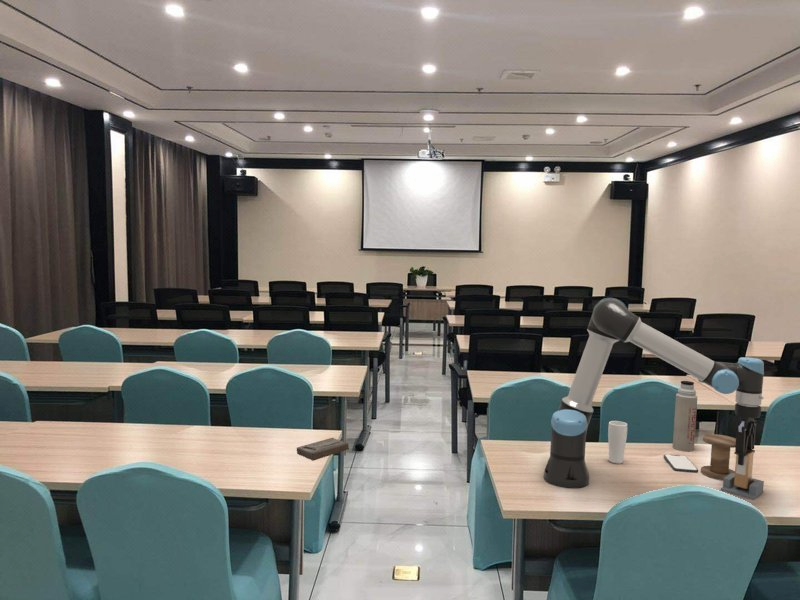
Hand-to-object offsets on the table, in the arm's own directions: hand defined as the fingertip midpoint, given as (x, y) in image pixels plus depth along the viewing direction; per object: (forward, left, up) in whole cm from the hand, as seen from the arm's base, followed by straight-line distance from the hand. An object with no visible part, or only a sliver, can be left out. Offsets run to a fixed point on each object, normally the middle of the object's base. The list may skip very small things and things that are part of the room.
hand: (743, 472), depth 203 cm
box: (-87, +120, -7) cm, 148 cm away
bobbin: (+11, +11, -7) cm, 17 cm away
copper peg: (0, 0, -5) cm, 5 cm away
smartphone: (+11, +25, -7) cm, 28 cm away
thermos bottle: (+32, +32, -7) cm, 46 cm away
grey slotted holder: (0, 0, -7) cm, 7 cm away
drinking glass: (-6, +42, -7) cm, 43 cm away
